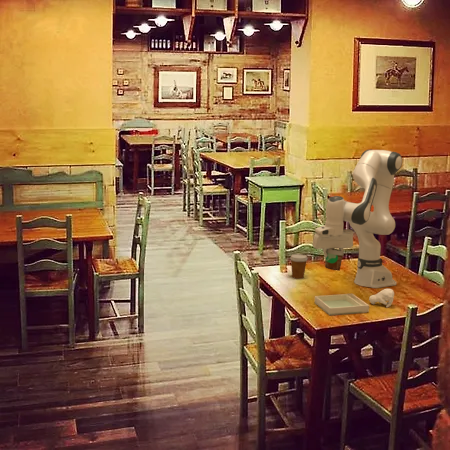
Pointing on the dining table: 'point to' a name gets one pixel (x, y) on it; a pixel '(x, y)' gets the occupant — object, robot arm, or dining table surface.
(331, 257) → the food container
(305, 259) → the disposable coffee cup
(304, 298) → the dining table surface
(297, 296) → the dining table surface
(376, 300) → the white animal figurine
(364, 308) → the walled box
